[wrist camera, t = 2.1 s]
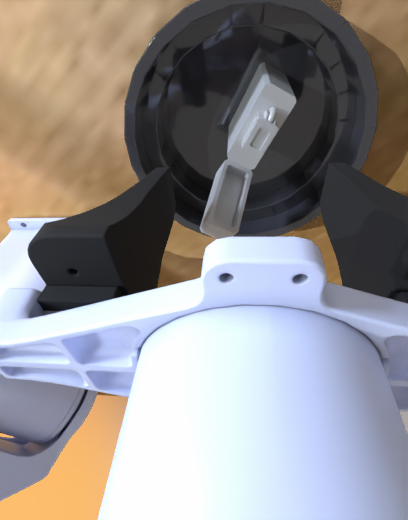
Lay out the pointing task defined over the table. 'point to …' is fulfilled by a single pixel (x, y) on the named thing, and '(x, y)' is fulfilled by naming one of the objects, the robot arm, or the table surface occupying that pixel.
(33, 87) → the table surface
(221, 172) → the lighter
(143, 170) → the pan
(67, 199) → the table surface
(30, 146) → the table surface
